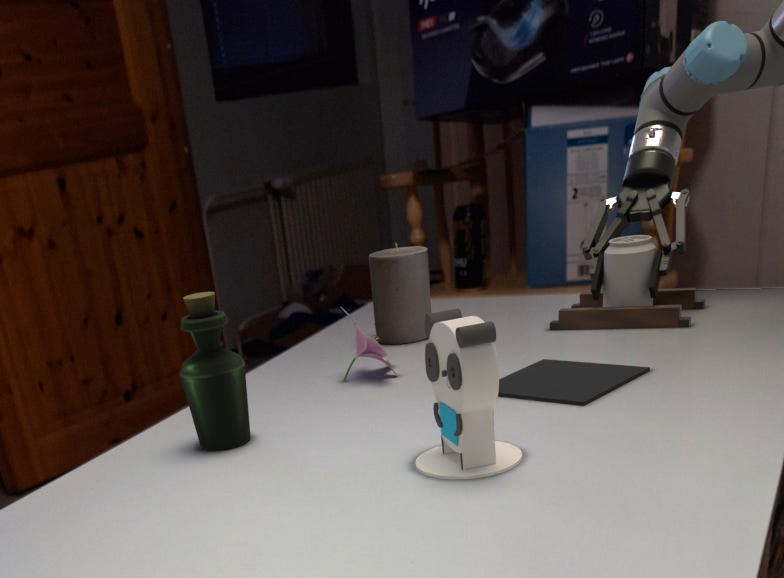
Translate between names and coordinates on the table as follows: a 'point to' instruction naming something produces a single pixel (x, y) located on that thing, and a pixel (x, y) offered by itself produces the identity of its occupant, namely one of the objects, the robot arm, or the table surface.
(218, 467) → the table surface
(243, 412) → the potion bottle
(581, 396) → the mat
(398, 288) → the pillar candle
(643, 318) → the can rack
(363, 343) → the lily
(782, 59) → the robot arm
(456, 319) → the panda figurine
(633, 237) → the can
